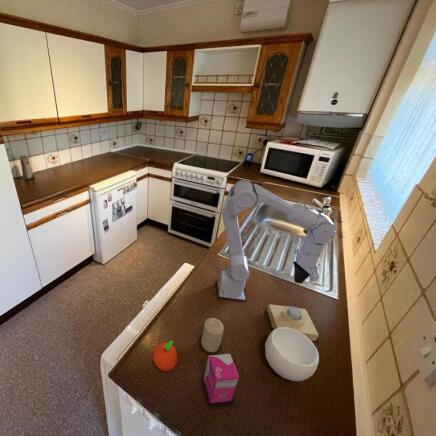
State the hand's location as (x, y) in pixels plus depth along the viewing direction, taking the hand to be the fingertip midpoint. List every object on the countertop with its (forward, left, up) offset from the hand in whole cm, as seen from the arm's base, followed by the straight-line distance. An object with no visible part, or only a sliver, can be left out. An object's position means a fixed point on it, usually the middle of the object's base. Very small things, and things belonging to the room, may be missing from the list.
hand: (297, 281), depth 83 cm
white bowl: (-10, -25, -11) cm, 29 cm away
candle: (-30, -22, -11) cm, 39 cm away
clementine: (-43, -30, -11) cm, 53 cm away
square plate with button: (-3, -10, -10) cm, 15 cm away
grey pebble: (-3, -10, -6) cm, 12 cm away
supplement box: (-29, -35, -11) cm, 47 cm away
